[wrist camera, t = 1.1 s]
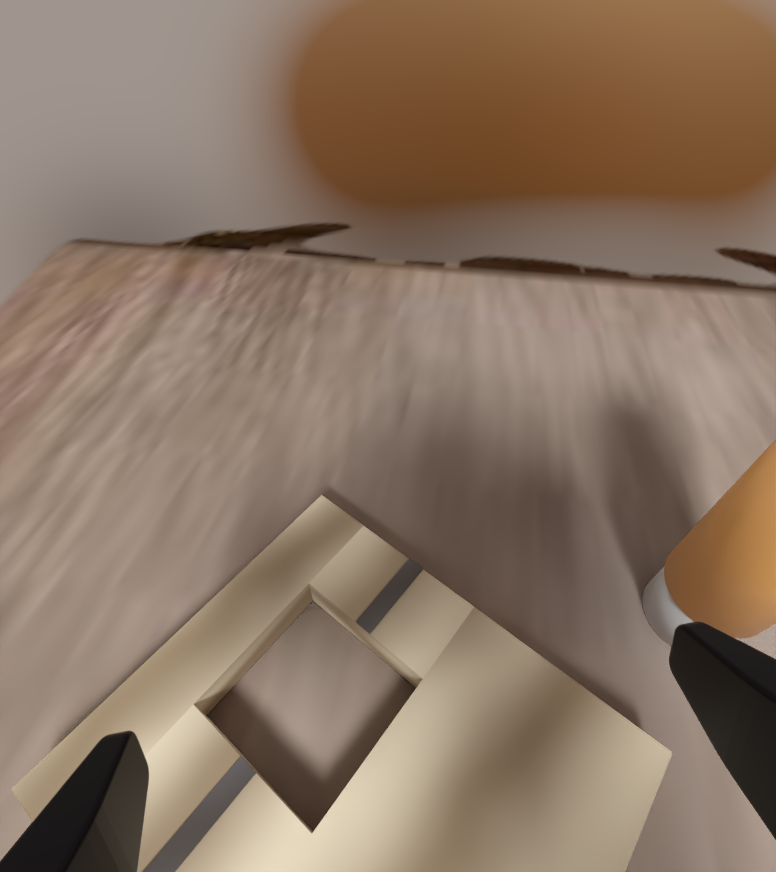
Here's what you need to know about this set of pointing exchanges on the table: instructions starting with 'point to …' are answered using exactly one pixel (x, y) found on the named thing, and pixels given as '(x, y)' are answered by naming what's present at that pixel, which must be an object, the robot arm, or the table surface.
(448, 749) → the subfloor panel
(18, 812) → the table surface
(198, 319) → the table surface
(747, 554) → the orange rounded cylinder
